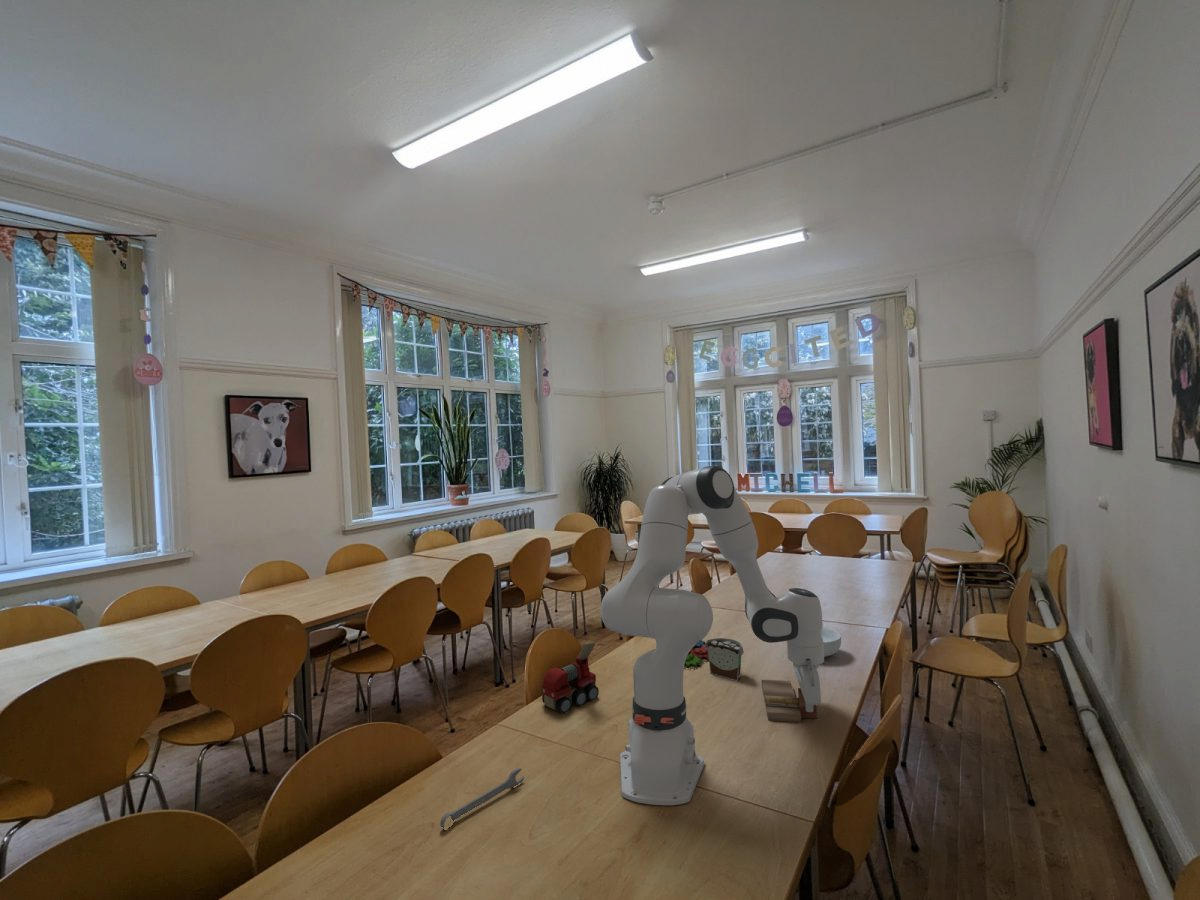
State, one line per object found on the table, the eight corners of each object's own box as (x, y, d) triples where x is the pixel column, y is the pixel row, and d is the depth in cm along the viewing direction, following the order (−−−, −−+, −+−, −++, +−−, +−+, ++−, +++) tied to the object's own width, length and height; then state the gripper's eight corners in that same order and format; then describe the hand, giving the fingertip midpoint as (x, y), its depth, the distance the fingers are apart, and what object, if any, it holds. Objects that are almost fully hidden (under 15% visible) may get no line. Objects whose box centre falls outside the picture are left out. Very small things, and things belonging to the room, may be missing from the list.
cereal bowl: (826, 668, 171) (825, 645, 171) (778, 655, 183) (777, 633, 183) (851, 653, 182) (850, 631, 182) (804, 641, 195) (803, 621, 195)
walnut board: (801, 722, 139) (800, 713, 139) (768, 720, 141) (767, 712, 141) (790, 687, 159) (790, 680, 159) (761, 686, 160) (761, 679, 160)
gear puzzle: (678, 682, 167) (678, 668, 167) (636, 670, 177) (635, 657, 177) (728, 651, 190) (728, 639, 190) (688, 641, 201) (687, 630, 201)
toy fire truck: (539, 706, 154) (536, 643, 154) (582, 689, 164) (580, 629, 164) (564, 720, 145) (561, 653, 145) (608, 700, 156) (605, 638, 156)
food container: (752, 675, 168) (750, 642, 168) (742, 682, 163) (740, 648, 163) (716, 666, 176) (715, 634, 176) (706, 672, 172) (705, 640, 172)
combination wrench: (442, 817, 104) (525, 767, 118) (438, 814, 105) (522, 764, 119) (443, 836, 104) (527, 784, 118) (439, 833, 105) (523, 781, 119)
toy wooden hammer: (816, 718, 140) (815, 695, 140) (765, 714, 143) (764, 691, 143) (815, 712, 144) (814, 689, 144) (764, 708, 147) (763, 685, 147)
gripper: (826, 669, 132) (828, 727, 132) (811, 639, 152) (813, 689, 152) (798, 668, 133) (800, 725, 133) (787, 638, 153) (789, 688, 153)
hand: (807, 706), depth 142 cm, fingers closed on toy wooden hammer, 4 cm apart
